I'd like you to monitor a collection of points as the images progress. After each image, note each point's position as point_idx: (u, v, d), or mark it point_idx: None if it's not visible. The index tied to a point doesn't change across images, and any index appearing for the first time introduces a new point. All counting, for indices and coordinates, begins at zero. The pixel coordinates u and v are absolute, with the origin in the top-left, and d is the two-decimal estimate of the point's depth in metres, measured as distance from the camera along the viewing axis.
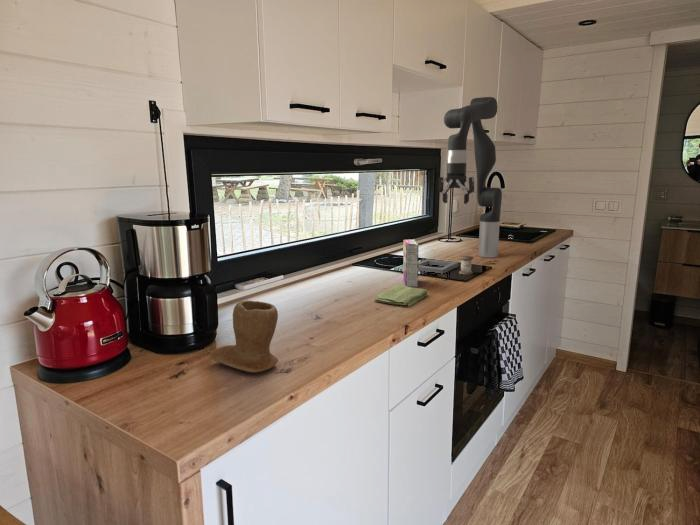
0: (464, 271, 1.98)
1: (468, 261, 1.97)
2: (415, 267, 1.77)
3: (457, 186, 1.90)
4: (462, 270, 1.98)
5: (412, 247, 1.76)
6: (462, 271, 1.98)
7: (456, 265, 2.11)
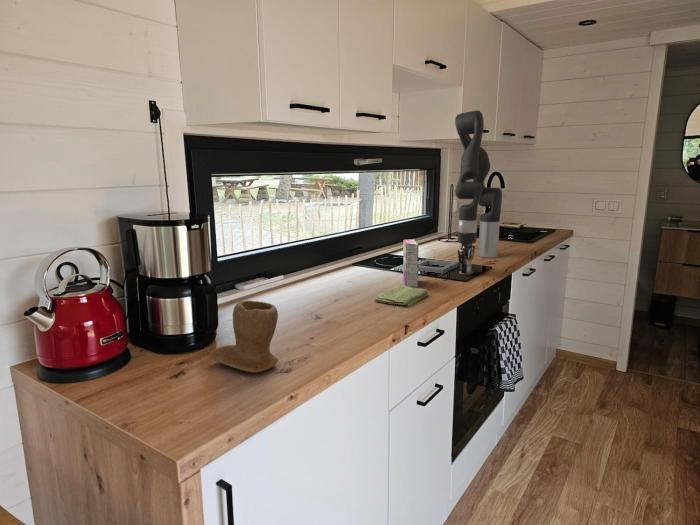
0: None
1: (468, 261, 1.97)
2: (415, 267, 1.77)
3: None
4: None
5: (412, 247, 1.76)
6: None
7: (456, 265, 2.11)
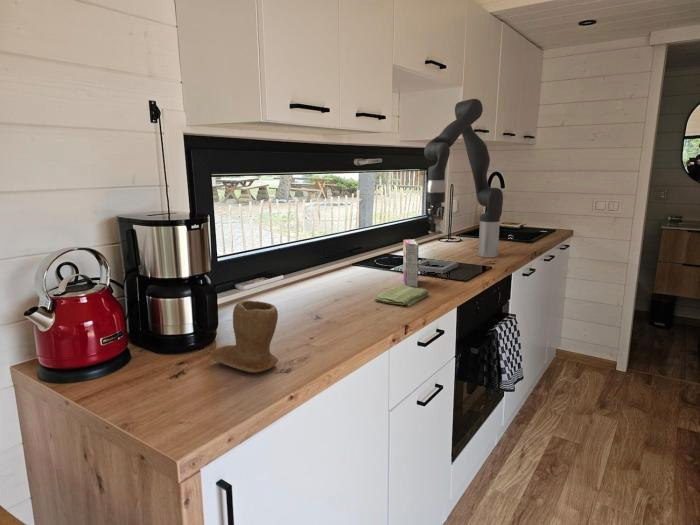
0: None
1: (437, 220, 2.03)
2: (415, 267, 1.77)
3: (438, 212, 2.04)
4: None
5: (412, 247, 1.76)
6: None
7: (456, 265, 2.11)
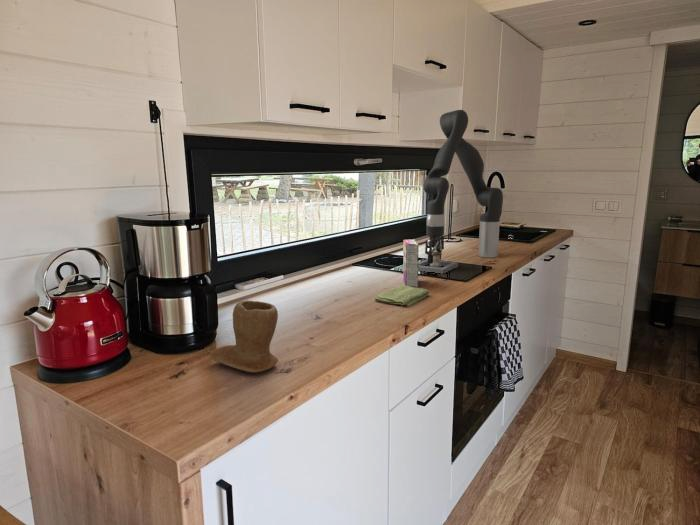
0: (433, 266, 2.08)
1: (437, 256, 2.07)
2: (415, 267, 1.77)
3: (438, 246, 2.08)
4: (431, 265, 2.09)
5: (412, 247, 1.76)
6: (431, 266, 2.09)
7: (456, 265, 2.11)
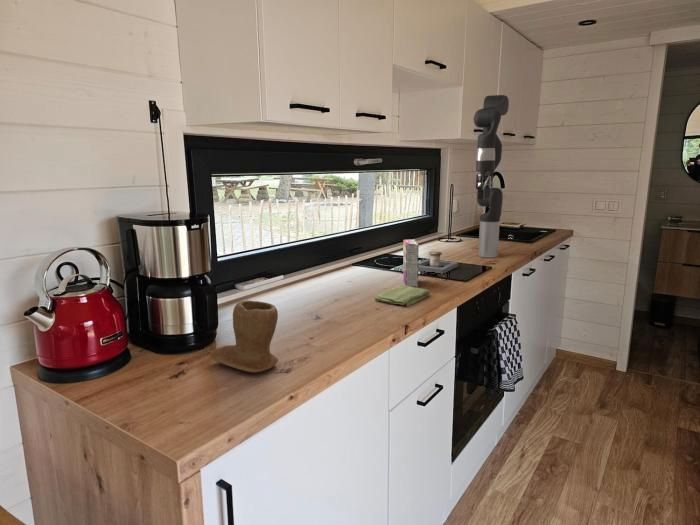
0: (433, 266, 2.08)
1: (437, 256, 2.07)
2: (415, 267, 1.77)
3: (487, 182, 2.02)
4: (431, 265, 2.09)
5: (412, 247, 1.76)
6: (431, 266, 2.09)
7: (456, 265, 2.11)
